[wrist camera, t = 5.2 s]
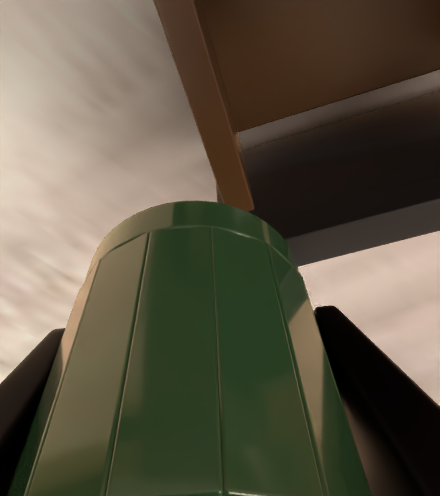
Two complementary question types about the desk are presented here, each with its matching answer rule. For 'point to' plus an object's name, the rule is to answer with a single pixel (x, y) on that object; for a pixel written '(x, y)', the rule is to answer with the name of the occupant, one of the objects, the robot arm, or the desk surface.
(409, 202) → the drawer
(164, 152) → the desk surface
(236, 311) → the pot
